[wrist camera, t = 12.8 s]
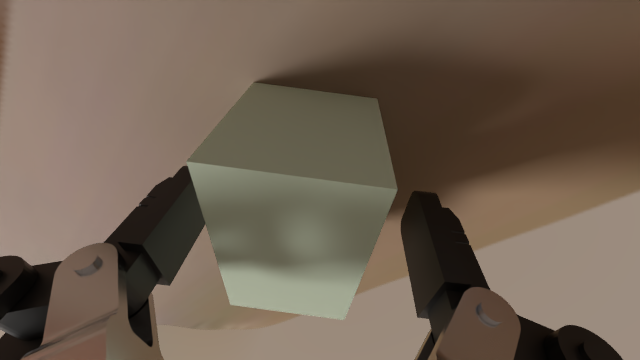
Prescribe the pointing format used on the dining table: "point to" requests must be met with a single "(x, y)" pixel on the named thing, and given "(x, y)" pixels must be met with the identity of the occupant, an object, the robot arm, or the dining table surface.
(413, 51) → the dining table surface
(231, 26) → the dining table surface
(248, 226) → the sage brick
